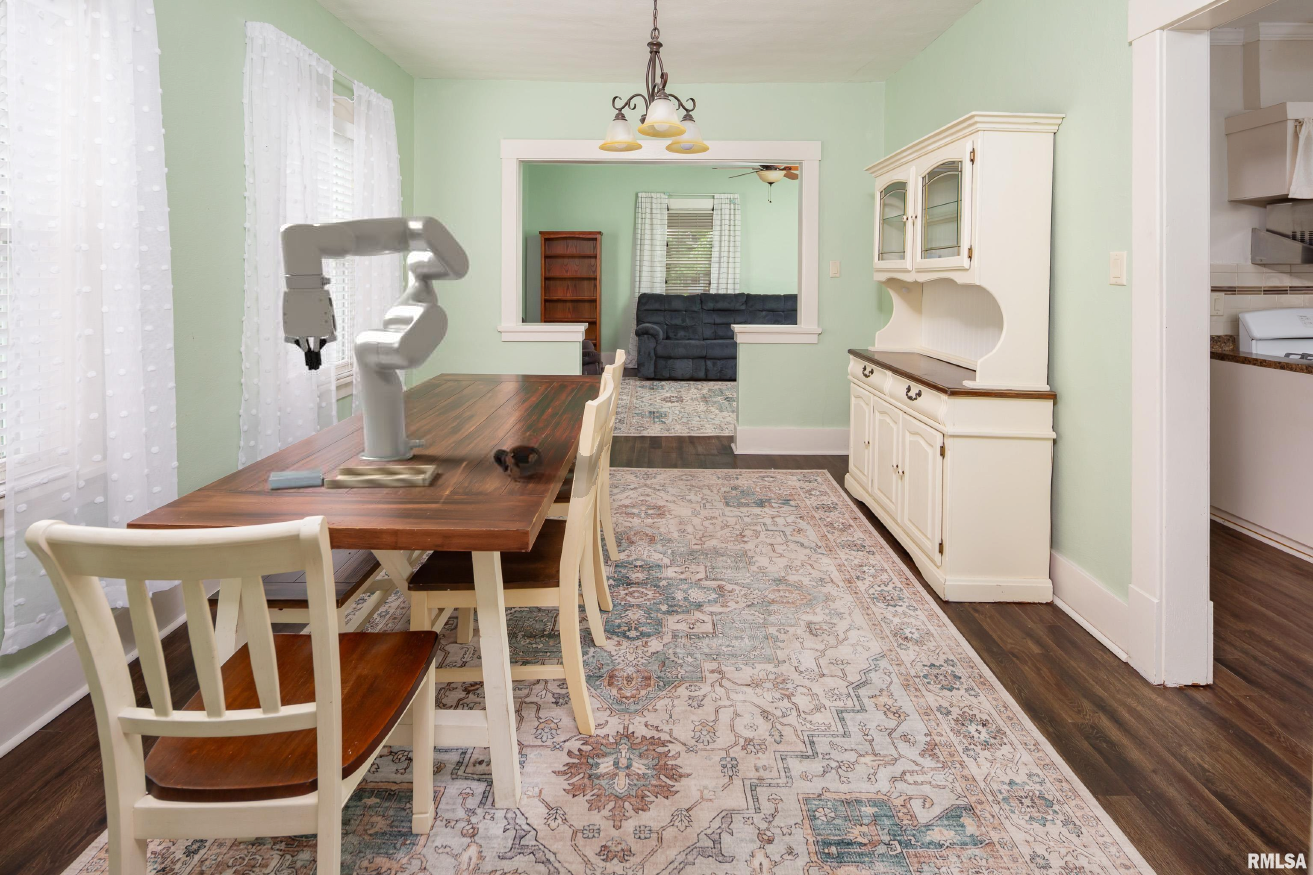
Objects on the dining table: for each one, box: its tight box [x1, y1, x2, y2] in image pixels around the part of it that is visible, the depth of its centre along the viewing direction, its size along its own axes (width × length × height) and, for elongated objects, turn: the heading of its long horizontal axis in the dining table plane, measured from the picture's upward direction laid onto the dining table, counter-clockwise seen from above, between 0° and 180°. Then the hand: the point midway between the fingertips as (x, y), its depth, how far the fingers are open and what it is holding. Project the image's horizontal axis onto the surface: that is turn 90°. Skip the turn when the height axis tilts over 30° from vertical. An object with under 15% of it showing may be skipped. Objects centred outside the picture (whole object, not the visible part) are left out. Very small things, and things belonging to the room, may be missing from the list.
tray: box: [323, 465, 438, 489], centre depth 176 cm, size 21×12×2 cm, turn 96°
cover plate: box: [268, 468, 323, 490], centre depth 173 cm, size 10×7×3 cm
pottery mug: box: [492, 444, 546, 482], centre depth 182 cm, size 12×10×8 cm
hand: (314, 369), depth 177 cm, fingers closed
